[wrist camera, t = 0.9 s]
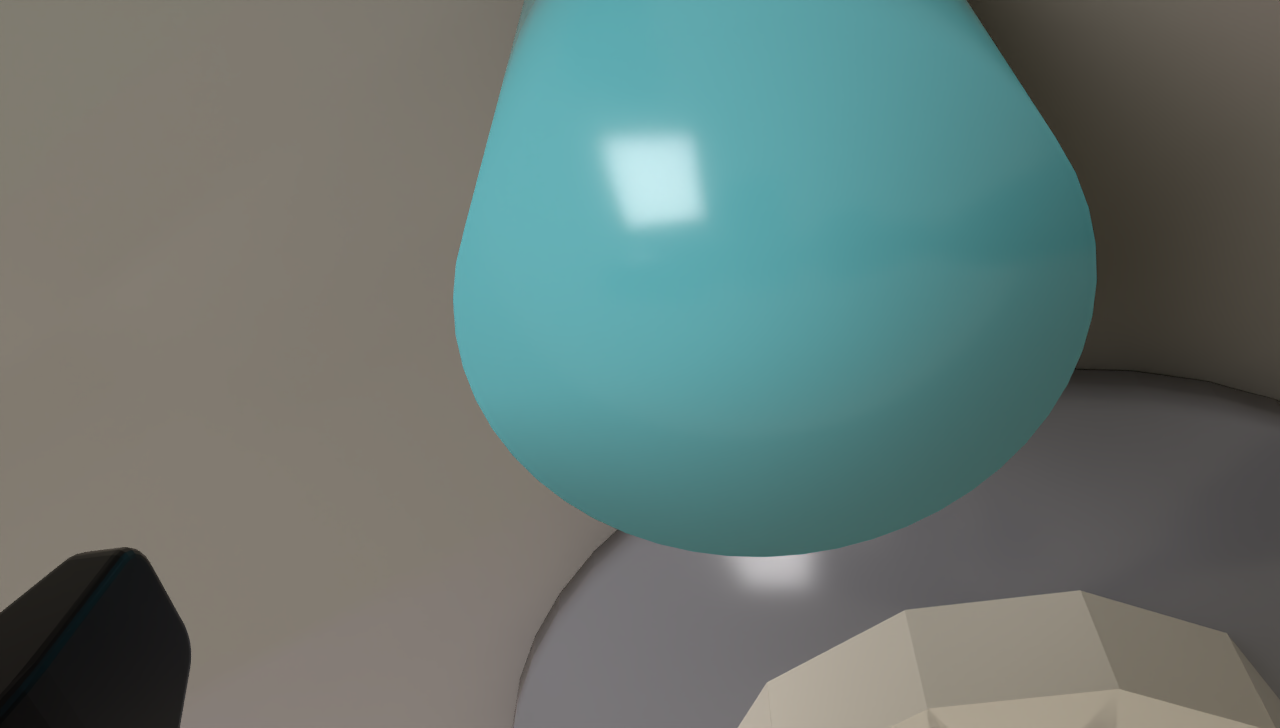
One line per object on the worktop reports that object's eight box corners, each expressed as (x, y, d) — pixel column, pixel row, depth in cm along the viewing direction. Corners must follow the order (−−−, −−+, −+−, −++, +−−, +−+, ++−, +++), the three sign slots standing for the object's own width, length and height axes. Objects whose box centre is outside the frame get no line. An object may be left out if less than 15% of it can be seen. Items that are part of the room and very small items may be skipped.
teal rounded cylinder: (918, -231, 14) (1111, -45, 8) (933, 170, 16) (1084, 521, 11) (486, -152, 14) (372, 76, 8) (571, 224, 17) (531, 587, 11)
